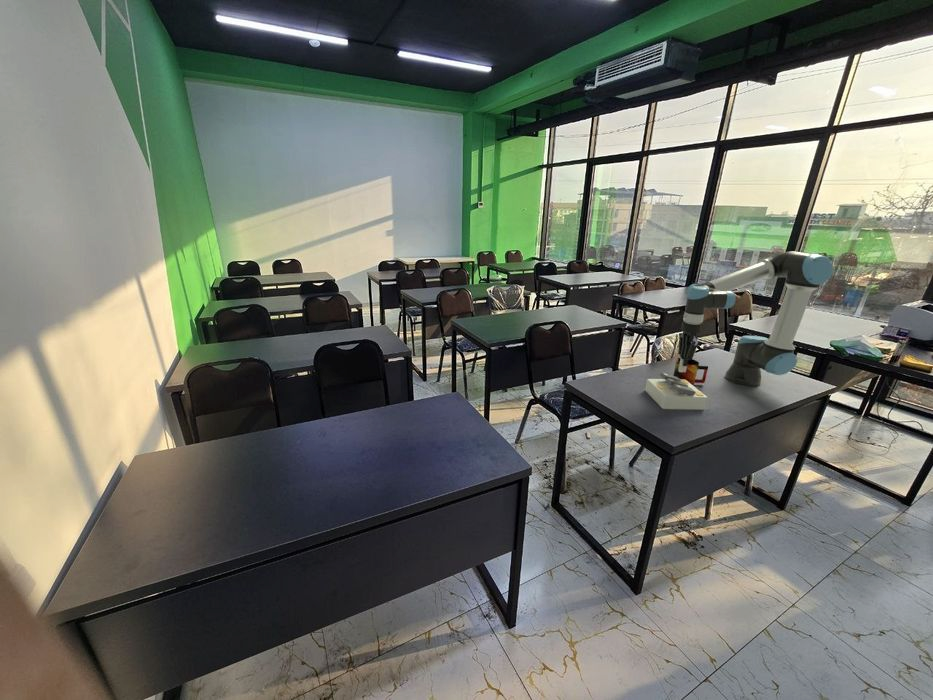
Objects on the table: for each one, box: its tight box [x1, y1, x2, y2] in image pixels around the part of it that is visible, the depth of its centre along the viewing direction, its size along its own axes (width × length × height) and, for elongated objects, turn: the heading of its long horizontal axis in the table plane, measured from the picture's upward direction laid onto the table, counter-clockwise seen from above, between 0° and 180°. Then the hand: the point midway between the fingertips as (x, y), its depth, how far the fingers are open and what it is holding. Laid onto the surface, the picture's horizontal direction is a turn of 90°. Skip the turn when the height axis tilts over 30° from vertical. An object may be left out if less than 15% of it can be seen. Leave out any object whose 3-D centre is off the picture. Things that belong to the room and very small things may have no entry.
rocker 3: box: [672, 384, 696, 395], centre depth 171 cm, size 8×4×2 cm, turn 91°
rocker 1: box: [659, 371, 681, 381], centre depth 182 cm, size 8×4×2 cm, turn 91°
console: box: [645, 378, 708, 411], centre depth 178 cm, size 18×18×7 cm
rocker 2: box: [666, 378, 688, 387], centre depth 176 cm, size 8×4×2 cm, turn 91°
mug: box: [672, 357, 709, 387], centre depth 194 cm, size 10×14×12 cm
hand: (681, 371), depth 181 cm, fingers closed
